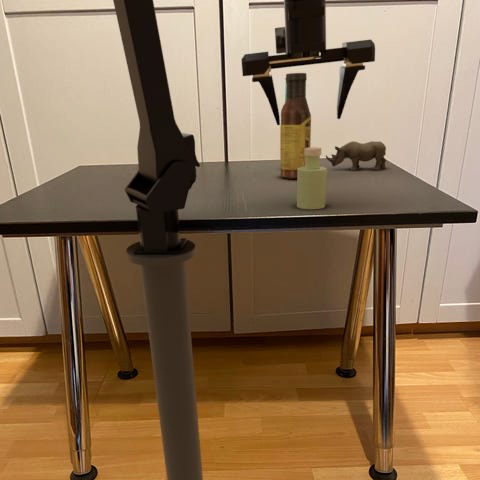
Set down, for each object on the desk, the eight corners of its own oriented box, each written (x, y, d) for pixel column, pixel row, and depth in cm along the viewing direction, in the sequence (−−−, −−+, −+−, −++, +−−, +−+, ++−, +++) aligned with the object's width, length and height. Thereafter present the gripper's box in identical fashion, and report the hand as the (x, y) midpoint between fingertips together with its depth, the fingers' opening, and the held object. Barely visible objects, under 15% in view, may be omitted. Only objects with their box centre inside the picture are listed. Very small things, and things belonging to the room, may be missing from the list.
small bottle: (326, 209, 76) (329, 149, 72) (297, 209, 77) (298, 150, 73) (323, 202, 80) (326, 146, 76) (296, 203, 81) (297, 146, 77)
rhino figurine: (324, 168, 112) (325, 141, 110) (384, 167, 111) (387, 139, 108) (325, 171, 109) (326, 143, 106) (387, 170, 107) (390, 141, 105)
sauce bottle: (311, 179, 100) (315, 72, 91) (281, 180, 100) (282, 73, 91) (307, 174, 106) (310, 72, 97) (279, 174, 106) (279, 73, 97)
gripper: (363, -2, 73) (361, 109, 80) (240, 13, 74) (250, 121, 82) (377, -10, 63) (373, 118, 70) (236, 8, 65) (247, 130, 72)
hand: (308, 121), depth 74 cm, fingers open, 9 cm apart
